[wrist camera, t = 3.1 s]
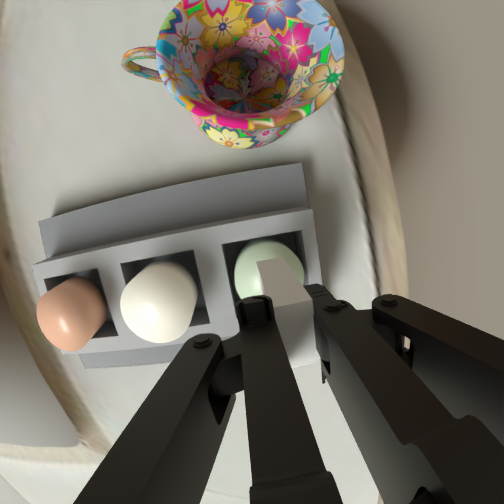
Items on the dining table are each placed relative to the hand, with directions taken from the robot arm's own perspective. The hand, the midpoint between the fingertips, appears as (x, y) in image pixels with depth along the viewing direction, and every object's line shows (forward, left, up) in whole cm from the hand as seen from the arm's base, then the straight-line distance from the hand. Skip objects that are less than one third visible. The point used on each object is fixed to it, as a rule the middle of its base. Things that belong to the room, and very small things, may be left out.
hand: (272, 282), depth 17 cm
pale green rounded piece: (0, 0, -6) cm, 6 cm away
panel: (0, -7, -8) cm, 10 cm away
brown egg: (0, -14, -3) cm, 14 cm away
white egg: (0, -7, -3) cm, 8 cm away
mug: (-13, 0, -8) cm, 15 cm away
